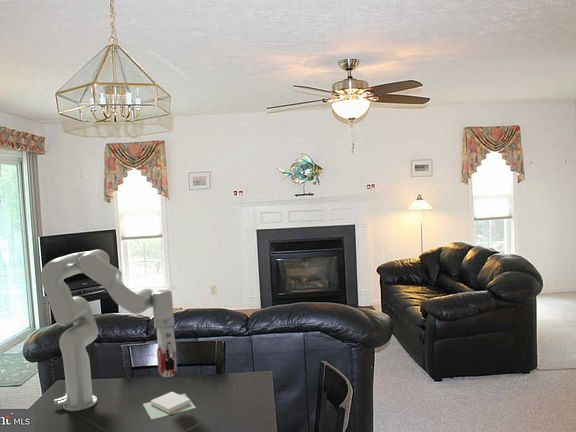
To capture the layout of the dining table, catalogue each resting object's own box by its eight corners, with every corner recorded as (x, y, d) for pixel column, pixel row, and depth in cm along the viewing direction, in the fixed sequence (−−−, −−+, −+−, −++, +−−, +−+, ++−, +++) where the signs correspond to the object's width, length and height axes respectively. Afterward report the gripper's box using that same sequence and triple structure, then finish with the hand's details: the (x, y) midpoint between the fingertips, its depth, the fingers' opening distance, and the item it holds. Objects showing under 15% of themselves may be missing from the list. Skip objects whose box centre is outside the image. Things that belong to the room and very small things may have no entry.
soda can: (172, 378, 195) (170, 347, 194) (155, 377, 197) (153, 347, 196) (180, 371, 202) (178, 341, 201) (163, 370, 204) (161, 341, 203)
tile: (168, 408, 193) (190, 399, 200) (150, 400, 201) (172, 391, 208) (169, 413, 193) (190, 404, 200) (151, 405, 201) (172, 396, 209)
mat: (151, 420, 189) (151, 419, 189) (142, 404, 203) (142, 403, 203) (195, 408, 197) (195, 407, 197) (184, 394, 210) (184, 393, 210)
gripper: (179, 325, 192) (183, 371, 193) (167, 315, 207) (170, 357, 209) (159, 329, 188) (163, 376, 190) (149, 318, 203) (152, 362, 205)
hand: (167, 366), depth 199 cm, fingers closed on soda can, 7 cm apart
